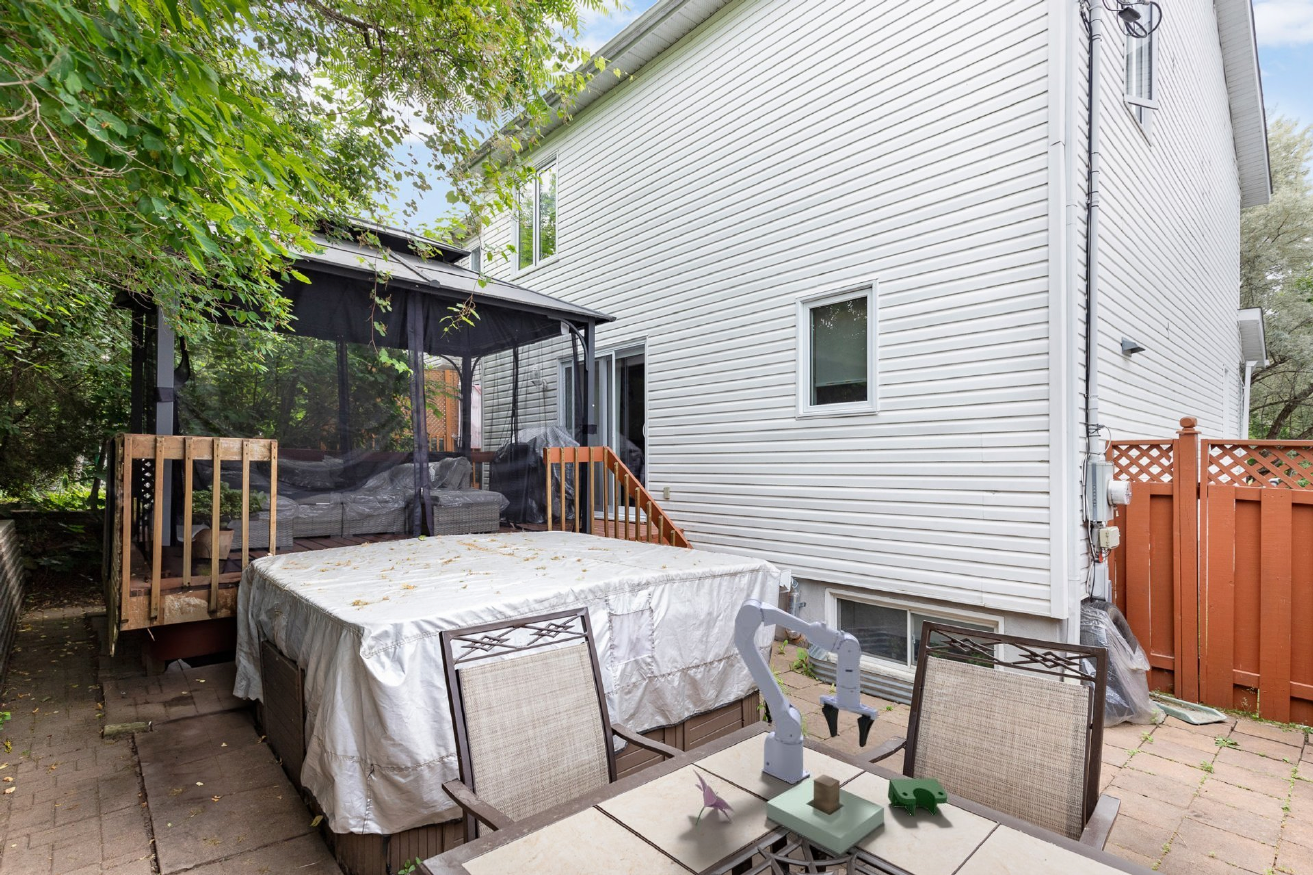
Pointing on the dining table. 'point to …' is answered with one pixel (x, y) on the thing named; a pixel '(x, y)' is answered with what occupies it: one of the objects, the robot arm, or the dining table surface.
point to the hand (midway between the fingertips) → (848, 741)
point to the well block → (825, 818)
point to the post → (826, 794)
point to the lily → (712, 798)
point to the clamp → (916, 794)
